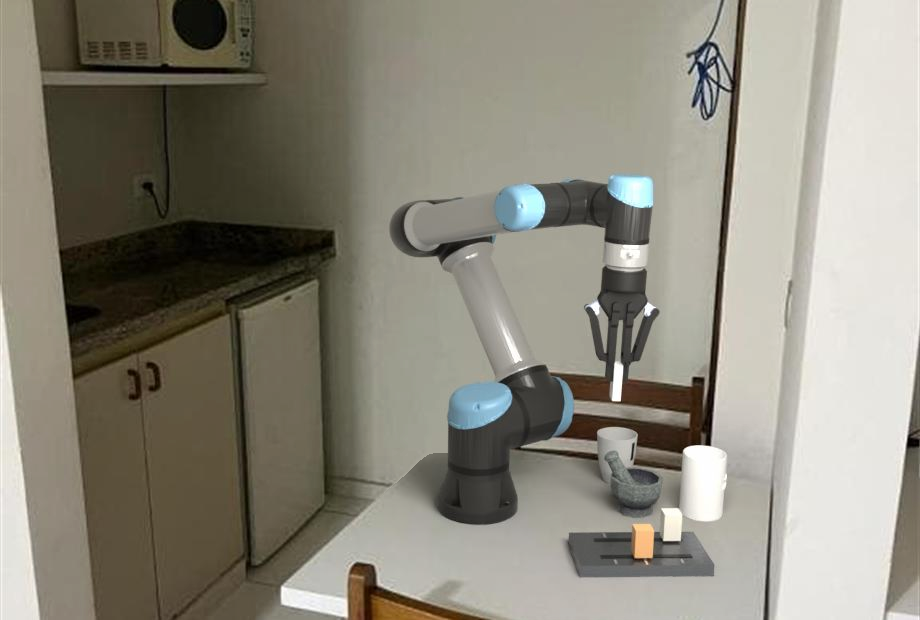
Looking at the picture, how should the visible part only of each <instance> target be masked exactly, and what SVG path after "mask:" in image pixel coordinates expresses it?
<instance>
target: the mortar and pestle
mask: <svg viewBox="0 0 920 620" xmlns="http://www.w3.org/2000/svg"><path fill="white" fill-rule="evenodd" d="M604 459H605V461H607V462H608V464H609V466H610V468H611V470H612V475H611V482H610V491H611V493H612V496H613V498H614V499H615V500H616V501H617V502H618V503H619V505H618V509H617V510H618V512H619V513H620V514H621V515H623V516H625V517H629V518H632V519H644V518H647V517H650V516H651V514H652V506H654V505H655V504H656V503H657V502H658V500H659V498H660V497H661V491H662V487H663V480H664V479H663V478H664V477H663V475H661V474H659V473H658V472H656V471H655V470H651V469H647V468H642V467H632V468H626V467H625V466H624V464H623V463H622V461H621V459H620V458H619V453H618V452H617V451H615V450H614V451H610V452H608V453H607V454H606V455H605V457H604Z"/></svg>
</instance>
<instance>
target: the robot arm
mask: <svg viewBox="0 0 920 620" xmlns="http://www.w3.org/2000/svg"><path fill="white" fill-rule="evenodd" d="M607 182H608V183H602V182H595V181H589V180H585V179H582V178H581V179H580V178H578V179H577V178H576V179H575V178H571V179H570V178H565V179H563V180H561V181H560V182H549V183H534V184H533V183H531V184H530V183H517V184H514V185H507V186H505V187H503V188H502V189H501V190H496V191H492V192H487V193H483V194H477V195H474V196H468V197H463V196H458V197H453V198H445V199H444V198H442V199H427V200H425V199H424V200H413V201H409V202H406V203H404V204H402V205H401V206H399V207H398V208H397V209H396V210H395V211H394V213H393V214H392V216H391V218H390V221H389V225H388V226H389V228H388V230H389V231H388V232H389V236H390V238H391V239H390V240H391V242H392V244H393V245H394V247H396V249H397V250H398V251H400V252H401V253H403V254H405V255H406V256H408V257H413V258H433V257H437V258H438V261H439V264H440V265H441V268H442V270H443V271H444V272H448V273H451V274H452V275H453V276H452V277H453V278H454V281H455V283H456V285H457V287H458V290H459V293H460V295H461V297H462V300H463V302H464V304H465V307H466V309H467V312H468V314H469V316H470V318H471V322H472V323H473V327H475V330H476V333H477V335H478V337H479V340H480V342H481V344H482V347H483V350H484V353H485V355H486V357H487V359H488V361H489V364H490V366H491V368H492V371H493V372H494V373H493V374H494V376H495V378H494V381H485V382H480V381H479V382H472V383H468V384H466V385H463V386H461V387H459V388H458V389H456V390H454V391H453V392H452V394H451V395H450V398H449V400H448V411H447V415H446V421H447V470H446V473H445V476H444V479H443V481H442V484H441V487H440V489H439V492H438V496H437V497H438V499H437V505H438V507H437V509H438V511H439V512H440V513H441V515H443V516H444V517H446V518H448V519H450V520H452V521H455V522H459V523H465V524H471V525H485V524H486V525H487V524H494V523H496V524H497V523H499V522H503V521H506V520H508V519H510V518H512V517H513V516H515V514H516V513H517V512H518V508H519V507H518V506H519V503H518V501H519V498H518V493H517V490H516V486H515V482H514V481H513V477H512V474H511V471H510V457H511V456H510V455H511V453H510V452H511V450H513V449H518V448H521V447H524V446H527V445H531V444H535V443H538V442H543V441H549V440H551V439H552V438H554V437H557V436H560V435H562V434H564V433H565V432H566V431H567V430H568V429H569V427H570V425H571V424H572V422H573V415H574V413H575V401H574V396H573V392H572V390H571V388H570V386H569V385H568V383H567V382H566V380H562V378H561V377H559V376H553V375H551V372H550V371H549V369H548V367H547V365H546V363H544V362H541V361H539V360H537V359H536V358H535V356H534V353H533V352H532V350H531V349H532V348H531V347H530V344H529V341H528V340H527V338H526V336H525V332H524V331H523V328H522V326H521V323H520V321H519V320H518V317H517V314H516V313H515V310H514V308H513V306H512V303H511V301H510V298H509V296H508V294H507V291H506V289H505V286H504V285H503V283H502V280H501V278H500V276H499V273H498V272H497V268H496V267H495V265H494V262H493V260H492V258H491V257H492V255H493V253H494V250H495V245H494V244H495V241H496V237H497V235H505V234H510V233H518V232H526V231H531V230H539V229H540V230H541V229H548V228H560V227H561V228H562V227H570V226H571V227H572V226H581V225H583V226H591V227H592V226H593V227H596V228H597V227H599V228H603V229H604V237H603V238H604V239H603V253H602V263H603V264H604V266H603V267H602V268H601V279H600V281H601V282H600V283H601V284H600V291H599V294H598V295H597V298H596V300H595V301H593V302H591V303H586V304H585V305H584V306H583V309H584V311H585V312H586V314H587V315H588V317H589V318H588V319H589V323H590V329H591V336H592V340H593V341H592V342H593V345H594V351H595V355H596V357H597V360H598V361H600V362H605V372H604V378H605V380H606V381H607V382H609V383H610V384H609V393H608V394H609V395H608V396H609V398H610V401H612V402H621V400H622V399H621V398H622V387H623V386H622V385H623V383H625V382H626V383H627V382H628V381H629V371H630V366H631V364H632V363H634V362H640V361H641V359H642V356H643V353H644V350H645V347H646V343H647V341H648V337H649V334H650V332H651V329H652V326H653V323H654V321H655V320H656V318H657V317H658V316H659V315H660V314H661V313H660V310H659V309H658V307H657V306H655V305H652V304H651V303H650V302H649V300H648V297H647V295H646V289H647V278H648V277H647V275H648V270H647V269H646V267H647V266H648V263H649V251H650V231H651V224H652V215H653V214H652V213H653V208H654V207H653V206H654V181H653V179H652V178H651V176H648V175H644V174H635V173H634V174H632V173H614V174H611V175H610V176H609V177H608V181H607ZM600 308H601V310H602V311H603V312H604V314H605V316H607V317H606V318H607V322H608V325H607V338H606V347H605V348H606V349H604V342H603V337H602V333H601V326H600V321H599V318H598V315H600ZM642 311H643V317H642V319H641V322H640V326H639V329H638V332H637V335H636V337H635V341H634V343H633V347H632V342H633V340H632V339H633V328H634V323H635V319H636V318H637V317H638V316H639V314H640V313H642ZM620 321H622V332H621V334H622V335H621V344H620V345H621V347H620V360H616V353H617V342H618V341H617V340H618V331H619V330H618V329H619V325H620V324H619V322H620Z"/></svg>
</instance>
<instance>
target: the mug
mask: <svg viewBox="0 0 920 620" xmlns="http://www.w3.org/2000/svg"><path fill="white" fill-rule="evenodd" d="M681 458H682V461H681V474H680V475H681V476H680V491H679V507H678V509H679V510H680V512H681V513H682V517H683V516H684V517H685V518H686V519H690V520H691V521H697V522H707V523H708V522H709V523H710V522H716V521H719V520H720V519H721V518H722V516H723V513H724V499H725V489H726V488H727V480H728V479H727V478H728V475H727V463H728V454H727V453H726V452H725V451H724V450H722V449H720V448H718V447H715V446H710V445H699V444H698V445H690V446H687V447H685V448H684V449H683V450H682V457H681Z"/></svg>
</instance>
